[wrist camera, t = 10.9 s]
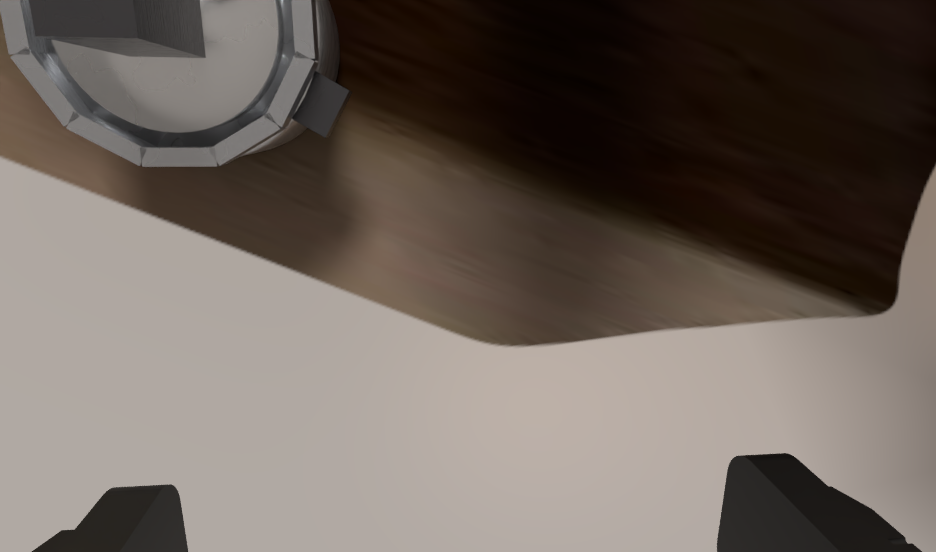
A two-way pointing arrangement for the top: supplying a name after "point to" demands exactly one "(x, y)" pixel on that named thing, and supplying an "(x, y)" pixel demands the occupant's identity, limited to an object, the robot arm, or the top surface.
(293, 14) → the pot
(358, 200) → the top surface
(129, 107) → the lid
